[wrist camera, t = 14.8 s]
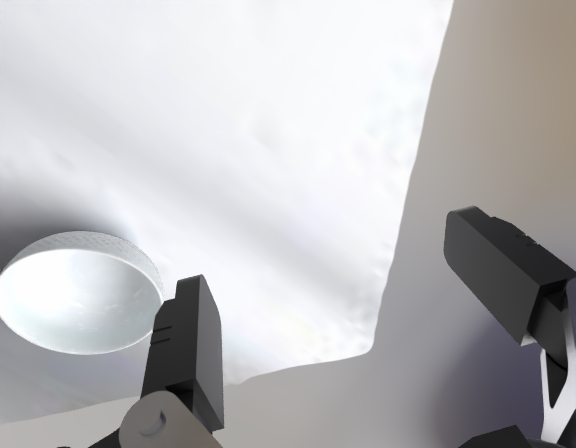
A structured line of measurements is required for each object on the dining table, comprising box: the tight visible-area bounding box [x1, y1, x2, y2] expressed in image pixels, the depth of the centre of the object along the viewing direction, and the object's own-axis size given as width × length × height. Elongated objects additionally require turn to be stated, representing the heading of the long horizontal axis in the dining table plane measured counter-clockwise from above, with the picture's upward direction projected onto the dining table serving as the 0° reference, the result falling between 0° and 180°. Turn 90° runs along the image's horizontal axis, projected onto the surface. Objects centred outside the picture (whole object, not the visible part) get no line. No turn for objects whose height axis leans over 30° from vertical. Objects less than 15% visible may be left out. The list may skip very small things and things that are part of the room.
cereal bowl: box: [0, 231, 164, 354], centre depth 42 cm, size 17×17×7 cm
